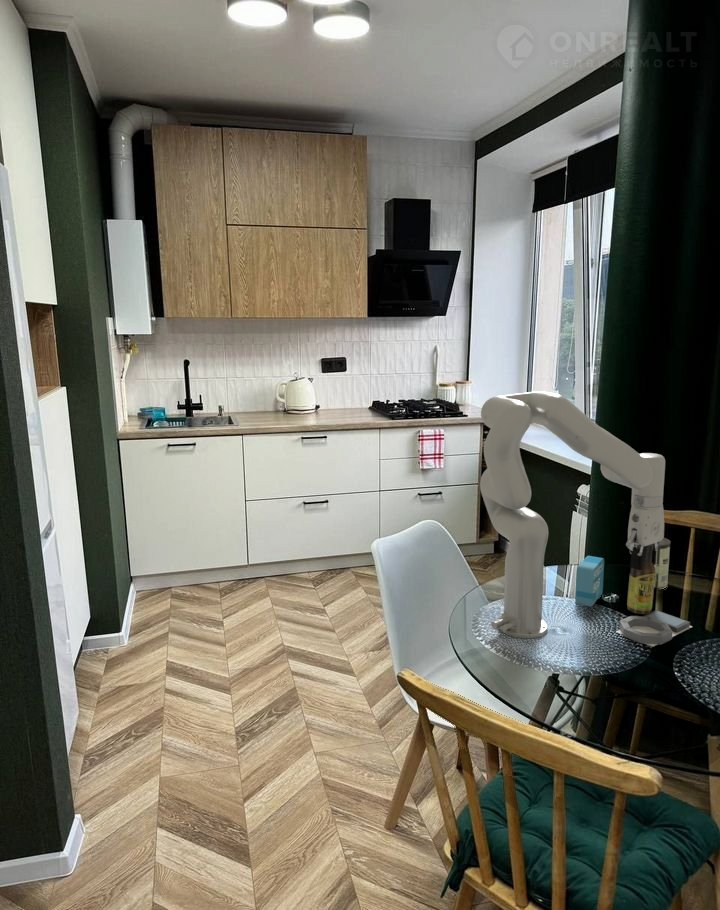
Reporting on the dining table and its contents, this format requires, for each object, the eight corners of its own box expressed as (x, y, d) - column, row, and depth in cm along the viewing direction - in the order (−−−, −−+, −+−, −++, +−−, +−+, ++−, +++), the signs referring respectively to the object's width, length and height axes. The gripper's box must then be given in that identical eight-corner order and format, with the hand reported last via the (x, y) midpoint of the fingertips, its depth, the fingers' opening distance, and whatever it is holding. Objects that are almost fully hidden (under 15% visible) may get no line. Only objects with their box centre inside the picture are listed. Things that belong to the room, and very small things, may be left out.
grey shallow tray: (653, 653, 153) (654, 640, 153) (611, 635, 162) (612, 624, 162) (694, 631, 164) (695, 620, 163) (653, 616, 173) (653, 605, 172)
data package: (591, 611, 177) (593, 569, 175) (574, 607, 179) (576, 566, 177) (602, 596, 187) (604, 556, 184) (586, 593, 189) (588, 554, 187)
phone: (676, 632, 161) (677, 628, 160) (643, 620, 168) (643, 615, 168) (689, 626, 164) (689, 621, 164) (656, 614, 171) (656, 609, 171)
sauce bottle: (638, 619, 171) (643, 548, 167) (621, 610, 177) (626, 541, 173) (657, 616, 173) (662, 545, 169) (640, 607, 179) (645, 538, 175)
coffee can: (633, 575, 202) (636, 532, 199) (669, 582, 196) (672, 537, 194) (627, 586, 193) (630, 541, 191) (664, 593, 188) (668, 547, 185)
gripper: (641, 509, 161) (637, 577, 165) (678, 498, 171) (673, 563, 174) (614, 503, 167) (611, 569, 171) (651, 492, 177) (647, 555, 180)
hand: (642, 565), depth 172 cm, fingers closed on sauce bottle, 5 cm apart
